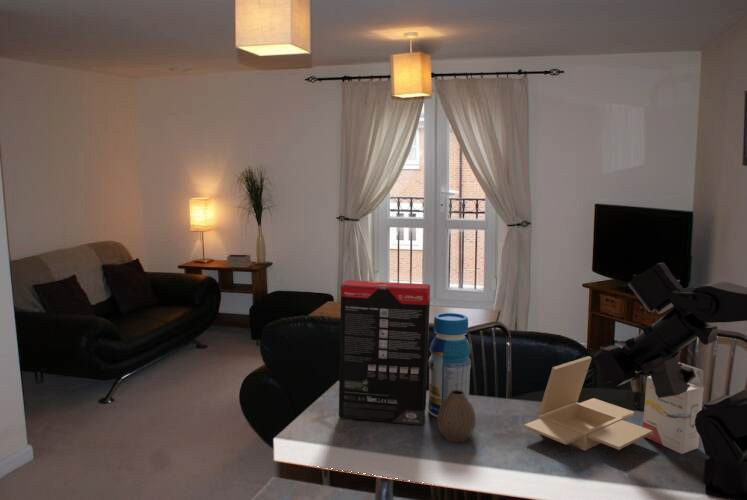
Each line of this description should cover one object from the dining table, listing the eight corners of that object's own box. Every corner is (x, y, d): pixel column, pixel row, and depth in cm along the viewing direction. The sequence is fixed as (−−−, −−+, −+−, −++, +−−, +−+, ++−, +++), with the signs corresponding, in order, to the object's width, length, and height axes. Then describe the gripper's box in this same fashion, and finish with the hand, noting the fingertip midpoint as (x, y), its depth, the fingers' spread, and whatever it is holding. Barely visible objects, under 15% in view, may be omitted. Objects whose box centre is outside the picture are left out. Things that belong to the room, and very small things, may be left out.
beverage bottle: (461, 424, 123) (464, 323, 120) (420, 415, 127) (423, 318, 124) (474, 409, 130) (478, 314, 128) (436, 402, 134) (439, 309, 131)
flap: (577, 401, 127) (591, 357, 123) (541, 415, 119) (555, 369, 116) (574, 399, 127) (588, 356, 124) (538, 413, 120) (552, 367, 117)
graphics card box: (427, 413, 128) (430, 280, 124) (425, 427, 121) (429, 287, 117) (344, 407, 130) (345, 277, 127) (337, 421, 124) (338, 284, 120)
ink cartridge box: (640, 436, 118) (646, 360, 116) (657, 431, 121) (663, 356, 119) (682, 455, 111) (688, 374, 109) (699, 449, 114) (706, 369, 111)
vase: (464, 449, 112) (465, 402, 111) (430, 439, 116) (431, 393, 115) (481, 436, 118) (482, 390, 117) (448, 426, 122) (449, 382, 120)
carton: (666, 437, 118) (667, 422, 118) (599, 472, 104) (600, 455, 104) (590, 410, 130) (591, 396, 130) (521, 438, 117) (521, 422, 116)
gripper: (672, 389, 95) (602, 434, 105) (727, 366, 107) (658, 408, 117) (626, 328, 100) (563, 376, 110) (683, 311, 112) (622, 356, 122)
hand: (604, 380), depth 115 cm, fingers closed
